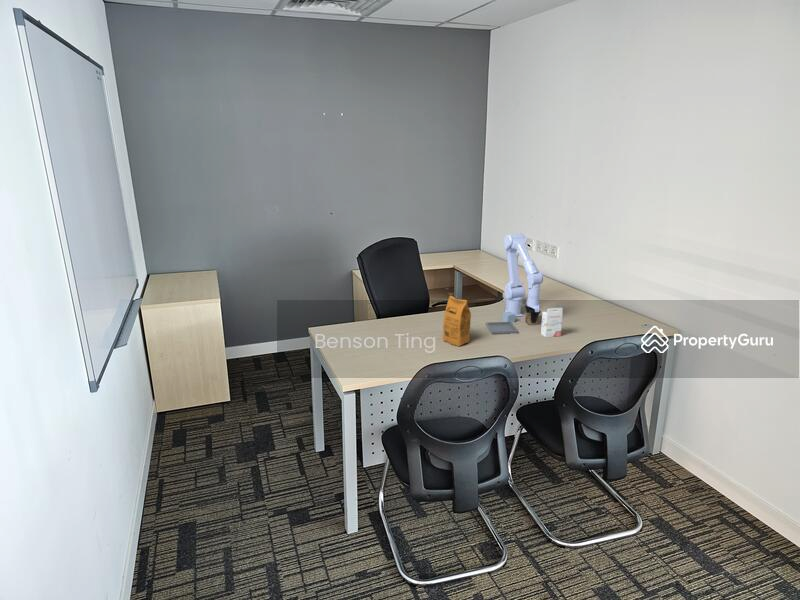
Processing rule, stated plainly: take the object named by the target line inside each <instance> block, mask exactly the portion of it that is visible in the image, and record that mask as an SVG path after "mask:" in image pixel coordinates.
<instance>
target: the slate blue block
mask: <svg viewBox="0 0 800 600" xmlns="http://www.w3.org/2000/svg"><path fill="white" fill-rule="evenodd" d="M504 321H505V322H513V323H516V322H515V321H516V316H515V314H514V313H512V312H506V313H505V312H503V313H502V322H504Z"/></svg>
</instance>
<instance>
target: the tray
mask: <svg viewBox="0 0 800 600" xmlns="http://www.w3.org/2000/svg"><path fill="white" fill-rule="evenodd" d="M486 326H487V327H486ZM485 327H486V328H487V329H488V331H489V333H490V334H491V335H511V334H510V333H517V334H518V333H519V331H518V328H516V326H514V324H513V323H511V322H504V321H495V322H493V321H490V322H485Z"/></svg>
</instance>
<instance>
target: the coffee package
mask: <svg viewBox="0 0 800 600" xmlns="http://www.w3.org/2000/svg"><path fill="white" fill-rule="evenodd" d="M468 303H469V300H467V299H459V298H458V299H457V298H455V297H454V296H453V295H449V297H448V300H447V303H446V307H445V311H444V316H443V323H442V324H443V325H442V330H443V332H442V341H443V342H447V343H448V344H450V345H452V346H457V347H461V346H462V345H464V344H467V343H469V342H470V336H471V335H470V334H471V318H472V313H471V311H470V307H469V306H468Z"/></svg>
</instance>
